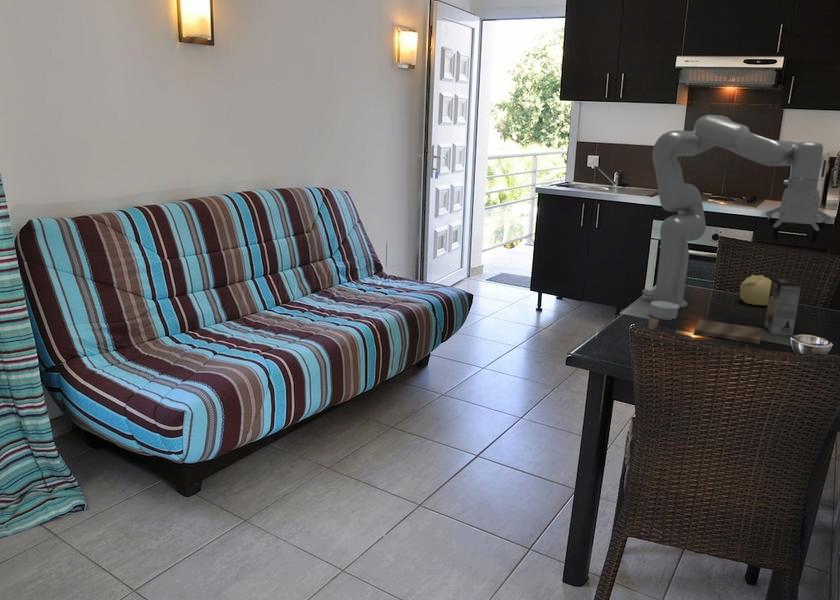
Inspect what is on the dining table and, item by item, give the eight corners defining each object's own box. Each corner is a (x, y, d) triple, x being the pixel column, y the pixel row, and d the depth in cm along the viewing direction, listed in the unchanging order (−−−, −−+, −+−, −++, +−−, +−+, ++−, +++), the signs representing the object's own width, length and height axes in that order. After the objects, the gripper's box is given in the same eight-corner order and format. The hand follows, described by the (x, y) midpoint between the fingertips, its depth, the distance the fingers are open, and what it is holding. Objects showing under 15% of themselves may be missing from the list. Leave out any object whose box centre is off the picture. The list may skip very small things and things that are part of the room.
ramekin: (678, 316, 231) (680, 303, 230) (676, 322, 223) (678, 309, 222) (651, 312, 235) (652, 299, 234) (647, 318, 227) (649, 305, 226)
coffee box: (763, 326, 222) (771, 277, 218) (784, 328, 221) (793, 278, 217) (771, 334, 213) (779, 283, 210) (793, 336, 212) (802, 284, 208)
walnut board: (693, 334, 209) (694, 329, 209) (698, 323, 222) (698, 319, 221) (759, 344, 202) (760, 339, 201) (760, 332, 214) (761, 328, 214)
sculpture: (741, 298, 259) (745, 270, 257) (776, 304, 253) (781, 275, 250) (734, 304, 250) (739, 275, 248) (770, 310, 244) (775, 280, 241)
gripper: (770, 183, 207) (761, 240, 211) (837, 187, 199) (827, 246, 203) (770, 182, 213) (762, 237, 217) (835, 186, 206) (825, 243, 210)
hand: (793, 241), depth 210 cm, fingers open, 9 cm apart
